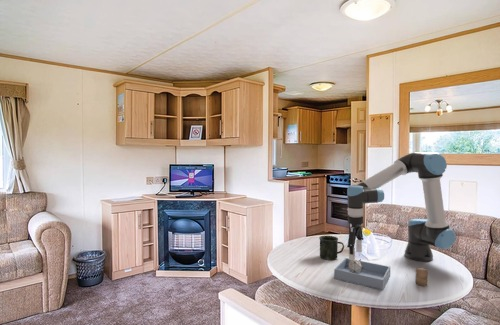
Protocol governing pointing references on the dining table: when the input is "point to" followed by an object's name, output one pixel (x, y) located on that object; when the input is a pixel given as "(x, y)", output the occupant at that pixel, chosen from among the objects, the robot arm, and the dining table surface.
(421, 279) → the walnut cylinder
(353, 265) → the game die
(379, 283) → the tote
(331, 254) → the mug
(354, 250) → the robot arm
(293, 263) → the dining table surface
